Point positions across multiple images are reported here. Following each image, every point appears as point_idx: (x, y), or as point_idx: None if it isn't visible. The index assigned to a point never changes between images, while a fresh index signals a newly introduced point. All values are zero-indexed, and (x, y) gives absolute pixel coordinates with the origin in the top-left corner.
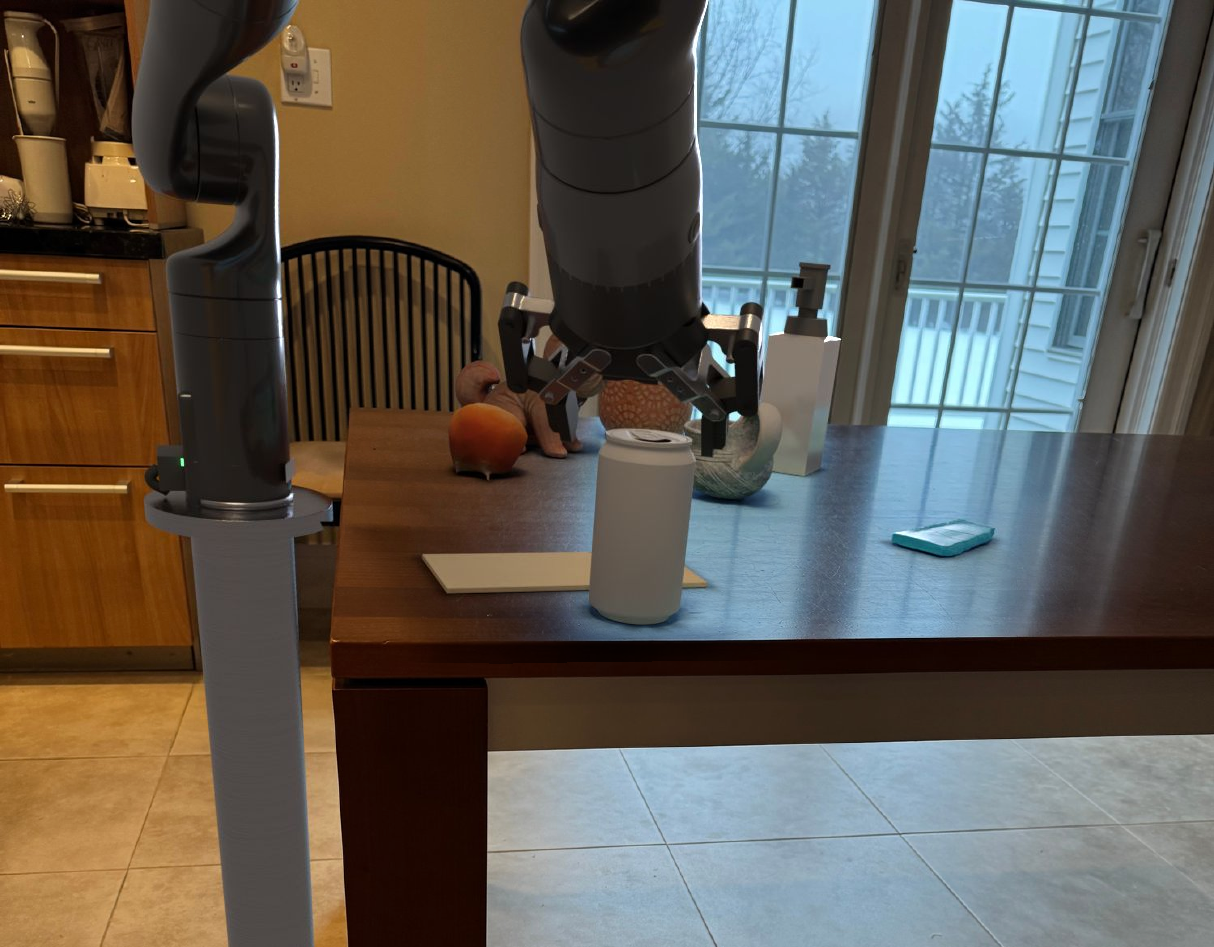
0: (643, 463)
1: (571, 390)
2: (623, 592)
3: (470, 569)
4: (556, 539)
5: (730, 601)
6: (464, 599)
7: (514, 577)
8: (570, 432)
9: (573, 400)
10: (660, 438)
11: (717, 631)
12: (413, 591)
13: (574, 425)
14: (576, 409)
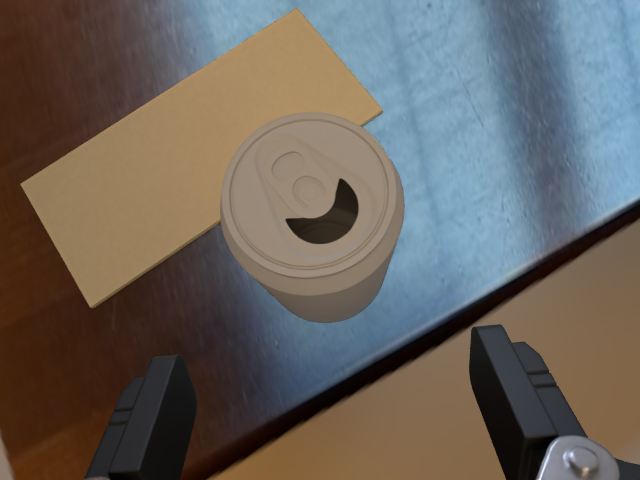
0: (326, 292)
1: (155, 469)
2: (323, 320)
3: (94, 215)
4: (155, 13)
5: (424, 153)
6: (119, 317)
7: (154, 219)
8: (189, 433)
9: (165, 427)
10: (332, 191)
11: (440, 281)
12: (52, 319)
13: (185, 394)
14: (173, 382)
